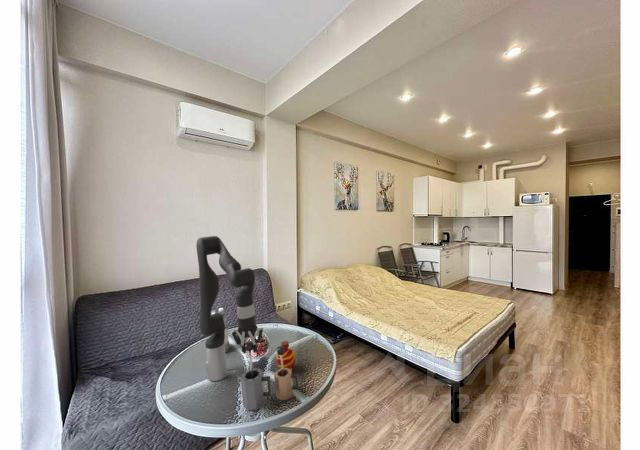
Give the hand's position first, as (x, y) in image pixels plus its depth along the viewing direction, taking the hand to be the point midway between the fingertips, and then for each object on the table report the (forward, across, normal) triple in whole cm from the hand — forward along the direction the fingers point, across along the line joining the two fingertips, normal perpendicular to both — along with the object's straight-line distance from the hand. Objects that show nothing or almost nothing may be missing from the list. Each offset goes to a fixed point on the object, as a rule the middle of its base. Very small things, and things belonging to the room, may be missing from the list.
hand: (249, 352), depth 113 cm
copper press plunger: (+16, +13, +4) cm, 21 cm away
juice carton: (+24, -33, +48) cm, 63 cm away
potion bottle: (+24, +12, +22) cm, 35 cm away
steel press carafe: (+23, +2, 0) cm, 23 cm away
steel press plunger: (+15, 0, 0) cm, 15 cm away
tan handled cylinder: (+23, +14, +4) cm, 28 cm away
